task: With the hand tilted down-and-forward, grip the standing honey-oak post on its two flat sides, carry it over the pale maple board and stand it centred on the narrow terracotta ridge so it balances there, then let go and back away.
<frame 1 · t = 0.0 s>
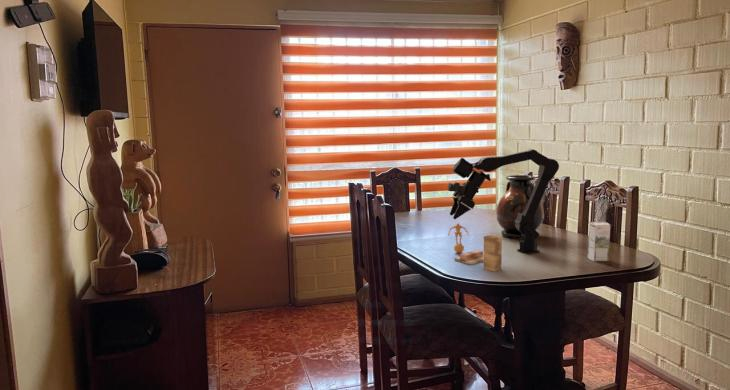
hand: (452, 216, 220), 15 cm above the table, tool tilted 35°, fingers open, 9 cm apart
figurine: (458, 252, 222), on the table
oak post: (492, 269, 196), on the table
fulcrum: (473, 259, 209), on the table
amphora vase: (519, 236, 252), on the table
syrup box: (597, 260, 206), on the table
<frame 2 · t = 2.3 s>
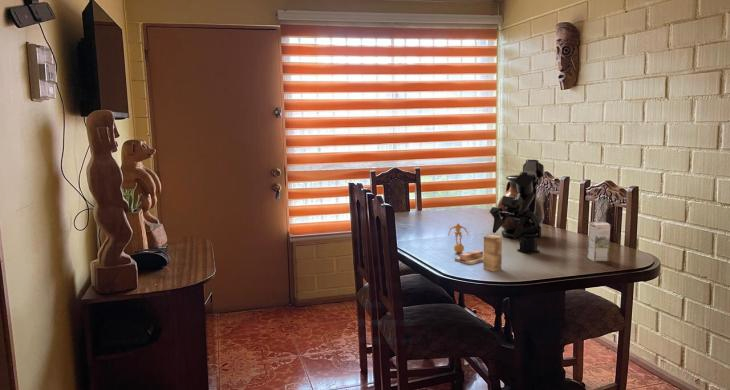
hand: (503, 234, 198), 12 cm above the table, tool tilted 45°, fingers open, 9 cm apart
nothing on the table moved.
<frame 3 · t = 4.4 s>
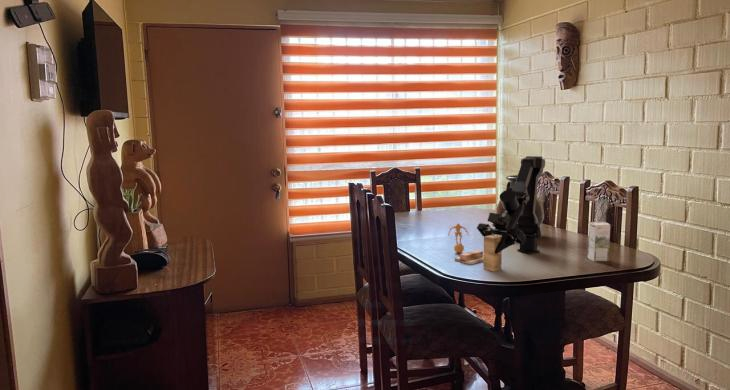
hand: (490, 251, 194), 7 cm above the table, tool tilted 45°, fingers closed on oak post, 4 cm apart
oak post: (492, 269, 196), on the table, touching gripper
everything else where it was.
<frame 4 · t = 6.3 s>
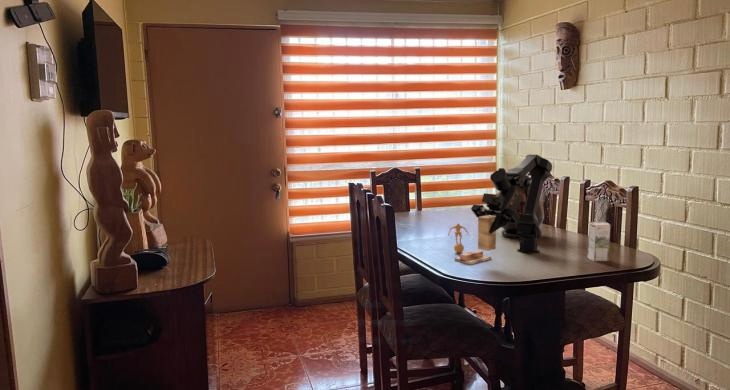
hand: (484, 231, 197), 13 cm above the table, tool tilted 45°, fingers closed on oak post, 4 cm apart
oak post: (486, 248, 199), point 7 cm above the table, touching gripper
everything else where it was.
when the fingers open (10 cm above the table, at t = 8.2 s): oak post stays where it is, resting on fulcrum.
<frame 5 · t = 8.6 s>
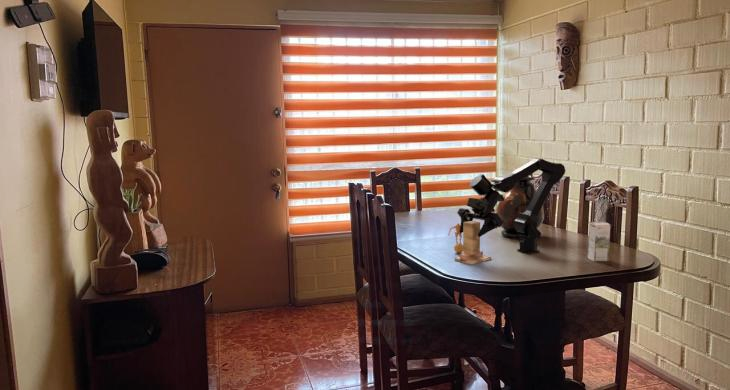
hand: (469, 234, 207), 10 cm above the table, tool tilted 45°, fingers open, 9 cm apart
oak post: (471, 252, 208), point 3 cm above the table, touching fulcrum
everything else where it was.
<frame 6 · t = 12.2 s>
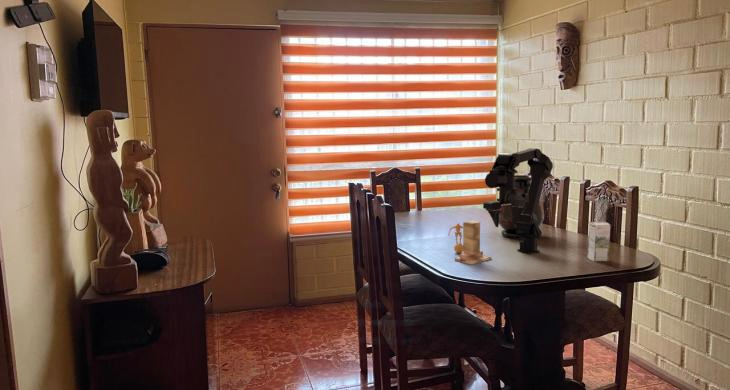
hand: (506, 225, 209), 13 cm above the table, tool pointing down, fingers open, 9 cm apart
nothing on the table moved.
at the end: oak post inside the target area (0.1 cm from its centre), point 3.0 cm above the table; oak post tilted 0°; the gripper is holding nothing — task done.
